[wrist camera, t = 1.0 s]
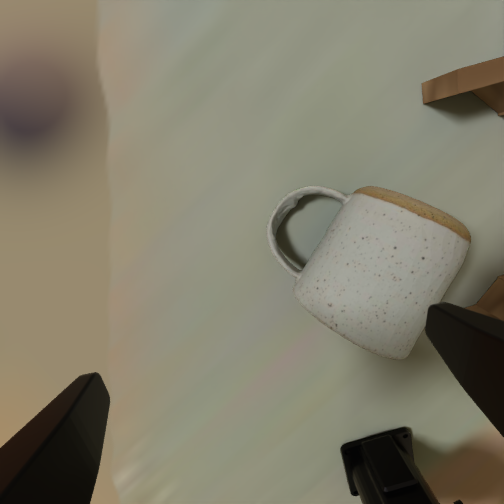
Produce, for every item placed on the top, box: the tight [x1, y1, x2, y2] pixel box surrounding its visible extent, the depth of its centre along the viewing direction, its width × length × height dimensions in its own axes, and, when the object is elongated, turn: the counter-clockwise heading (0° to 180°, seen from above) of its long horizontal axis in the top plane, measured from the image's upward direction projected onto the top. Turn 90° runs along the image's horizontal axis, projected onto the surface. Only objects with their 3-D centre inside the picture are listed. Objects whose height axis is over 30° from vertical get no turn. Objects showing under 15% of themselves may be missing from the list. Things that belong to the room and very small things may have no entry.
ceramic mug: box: [267, 186, 471, 360], centre depth 18 cm, size 11×8×8 cm
